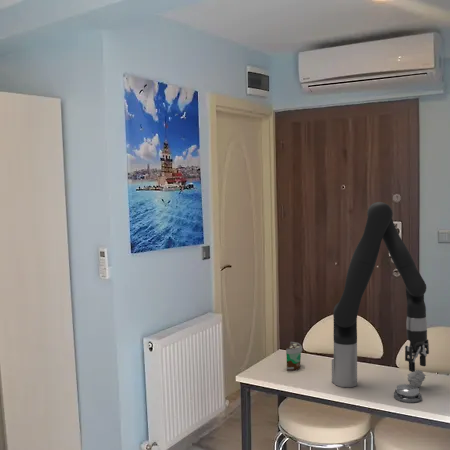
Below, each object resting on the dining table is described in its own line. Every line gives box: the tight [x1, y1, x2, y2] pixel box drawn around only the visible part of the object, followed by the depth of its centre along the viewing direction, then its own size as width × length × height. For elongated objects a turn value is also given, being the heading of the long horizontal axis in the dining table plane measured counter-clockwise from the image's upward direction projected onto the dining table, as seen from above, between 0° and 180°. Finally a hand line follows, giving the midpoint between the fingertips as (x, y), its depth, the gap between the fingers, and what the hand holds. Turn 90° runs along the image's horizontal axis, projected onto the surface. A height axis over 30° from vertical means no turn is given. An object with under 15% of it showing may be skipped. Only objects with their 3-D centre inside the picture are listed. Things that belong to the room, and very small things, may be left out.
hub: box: [393, 383, 423, 404], centre depth 202 cm, size 10×10×4 cm
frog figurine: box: [407, 369, 426, 388], centre depth 213 cm, size 6×7×7 cm
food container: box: [285, 341, 303, 372], centre depth 239 cm, size 12×6×10 cm, turn 164°
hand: (417, 368), depth 212 cm, fingers open, 8 cm apart
